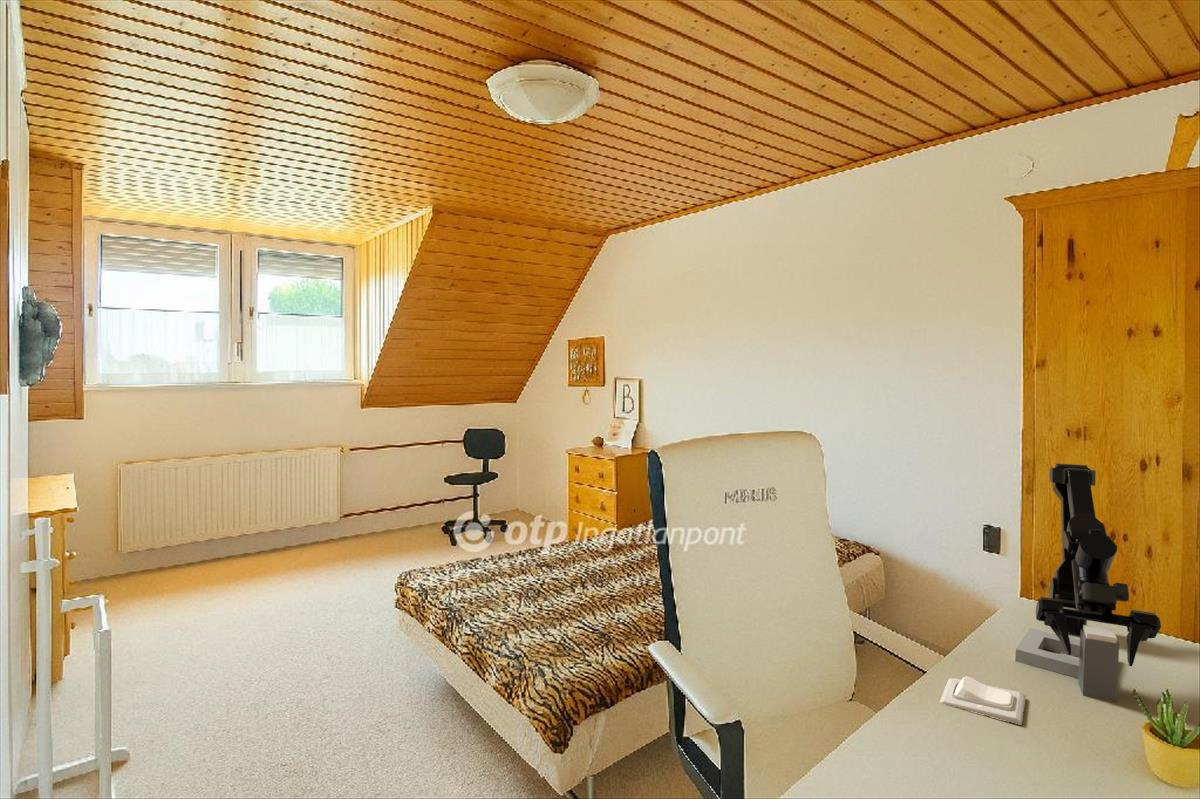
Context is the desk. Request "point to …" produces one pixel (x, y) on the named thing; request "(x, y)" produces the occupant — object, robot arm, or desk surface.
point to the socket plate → (1036, 656)
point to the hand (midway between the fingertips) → (1099, 659)
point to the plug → (1098, 663)
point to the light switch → (984, 699)
